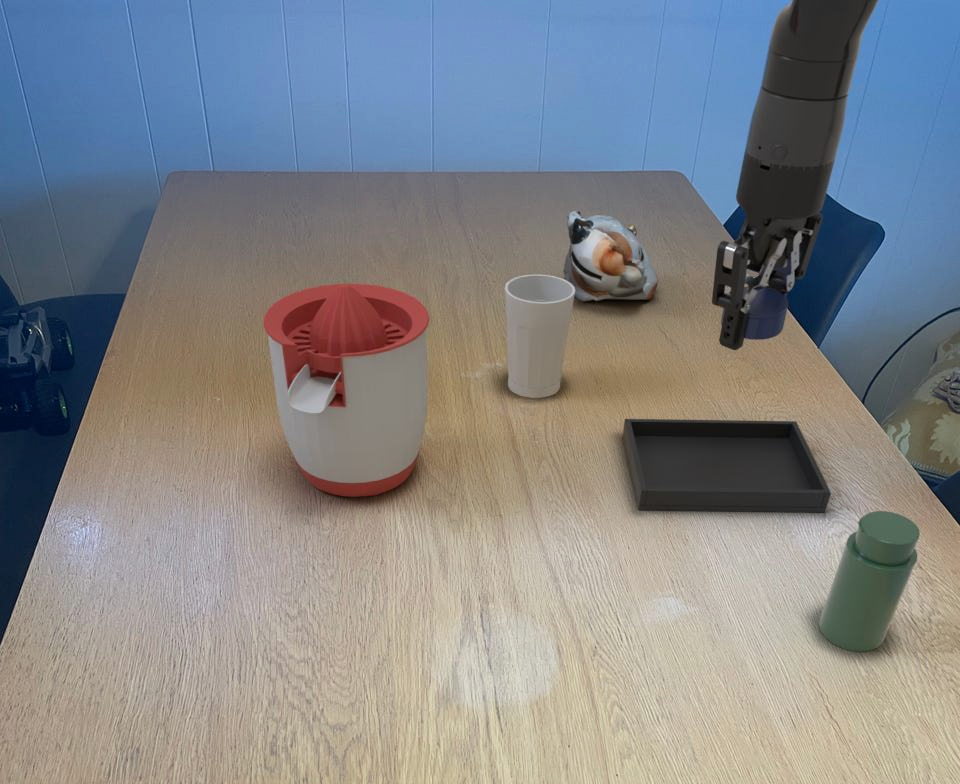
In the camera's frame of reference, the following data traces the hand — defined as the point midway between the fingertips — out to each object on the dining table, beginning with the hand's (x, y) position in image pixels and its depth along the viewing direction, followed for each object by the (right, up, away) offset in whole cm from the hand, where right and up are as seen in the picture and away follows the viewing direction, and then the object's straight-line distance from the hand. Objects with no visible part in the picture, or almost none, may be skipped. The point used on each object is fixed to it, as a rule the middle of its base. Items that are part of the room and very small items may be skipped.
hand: (748, 335), depth 93 cm
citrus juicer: (-39, -12, +9) cm, 42 cm away
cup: (-19, +1, +24) cm, 31 cm away
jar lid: (0, +2, -2) cm, 3 cm away
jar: (+7, -29, -8) cm, 30 cm away
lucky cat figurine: (-8, +20, +44) cm, 49 cm away
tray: (0, -12, +10) cm, 16 cm away
